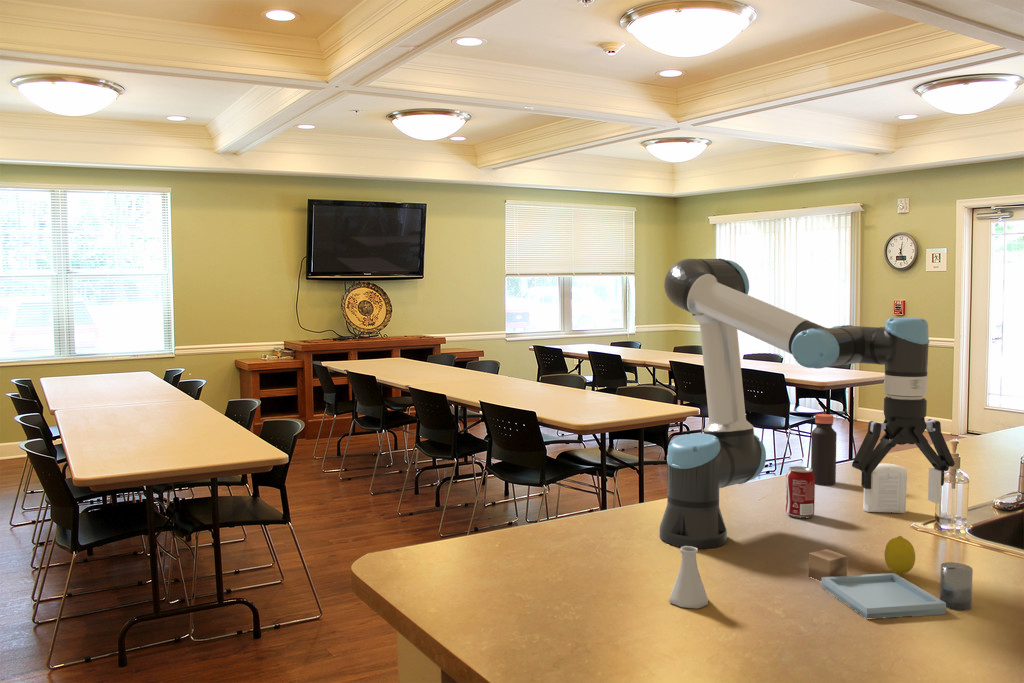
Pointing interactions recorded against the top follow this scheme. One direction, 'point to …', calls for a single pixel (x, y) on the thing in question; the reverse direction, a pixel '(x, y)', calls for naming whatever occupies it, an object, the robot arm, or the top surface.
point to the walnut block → (827, 564)
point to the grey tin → (956, 585)
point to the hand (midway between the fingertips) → (902, 503)
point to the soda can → (800, 492)
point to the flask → (689, 582)
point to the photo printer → (889, 489)
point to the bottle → (823, 450)
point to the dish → (883, 595)
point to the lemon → (899, 555)
